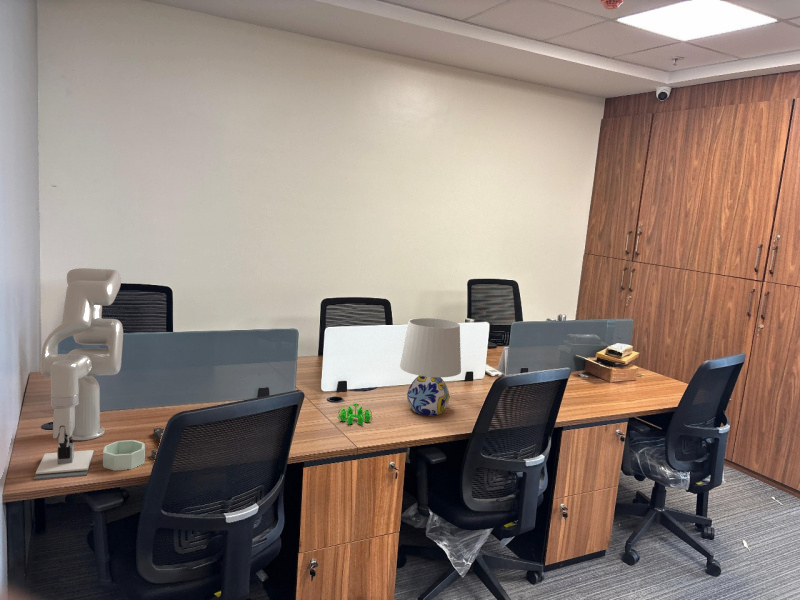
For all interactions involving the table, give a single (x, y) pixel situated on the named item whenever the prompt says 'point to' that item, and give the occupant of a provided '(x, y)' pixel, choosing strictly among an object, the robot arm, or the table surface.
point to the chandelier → (355, 415)
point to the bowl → (124, 455)
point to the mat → (62, 474)
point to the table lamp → (431, 362)
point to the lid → (65, 462)
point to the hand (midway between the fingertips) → (65, 454)
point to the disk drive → (158, 433)
